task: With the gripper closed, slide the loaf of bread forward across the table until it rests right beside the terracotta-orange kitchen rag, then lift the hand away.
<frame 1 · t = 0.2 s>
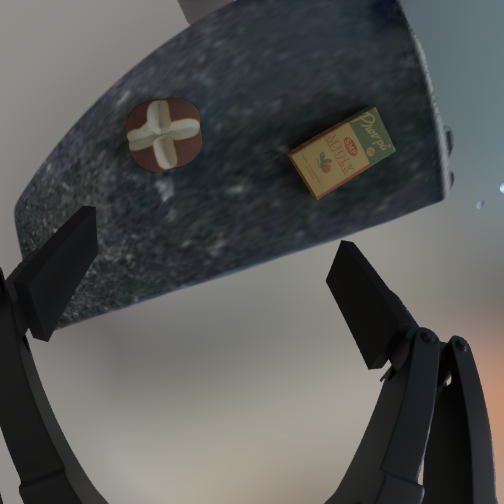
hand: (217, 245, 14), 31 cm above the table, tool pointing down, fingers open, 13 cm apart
carton: (337, 148, 42), on the table
bread: (165, 134, 39), on the table
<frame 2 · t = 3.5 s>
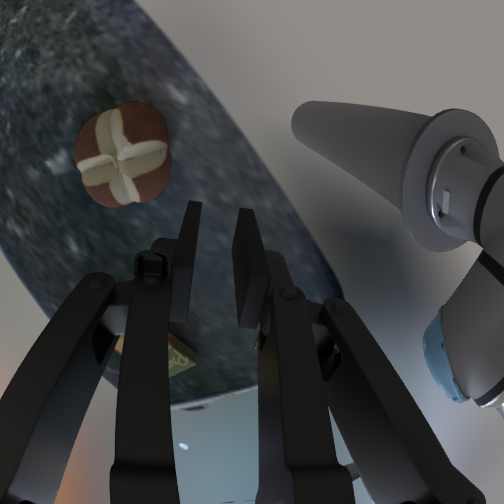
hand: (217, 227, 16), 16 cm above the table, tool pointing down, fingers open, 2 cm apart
carton: (146, 329, 42), on the table
bread: (124, 153, 28), on the table
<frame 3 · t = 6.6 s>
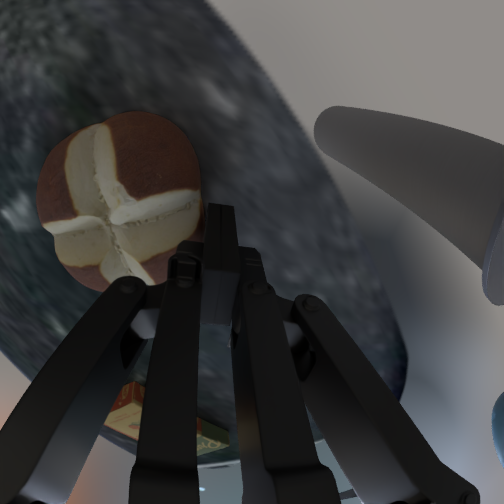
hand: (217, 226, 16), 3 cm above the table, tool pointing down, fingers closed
carton: (165, 409, 31), on the table
bread: (122, 199, 17), on the table, touching gripper
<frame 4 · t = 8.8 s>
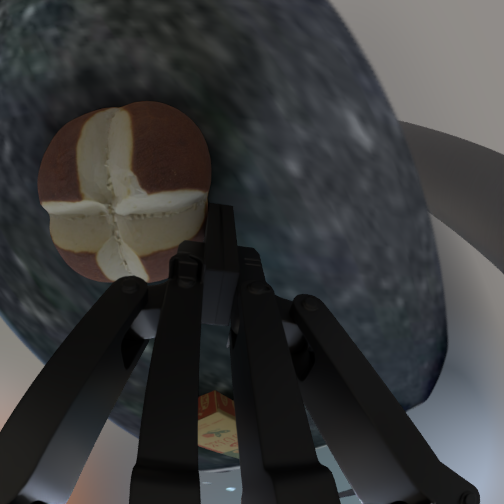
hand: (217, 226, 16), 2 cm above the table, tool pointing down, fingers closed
carton: (229, 414, 32), on the table
bread: (125, 188, 17), on the table, touching gripper
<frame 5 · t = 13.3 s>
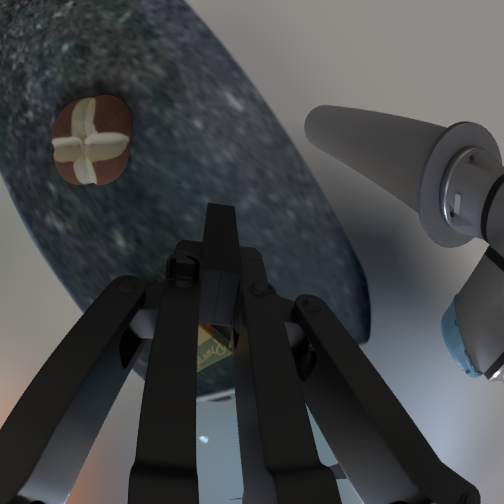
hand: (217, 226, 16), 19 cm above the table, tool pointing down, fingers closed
carton: (184, 321, 45), on the table
bread: (94, 138, 29), on the table
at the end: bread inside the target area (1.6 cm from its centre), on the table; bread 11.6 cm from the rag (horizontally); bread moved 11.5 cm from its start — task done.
